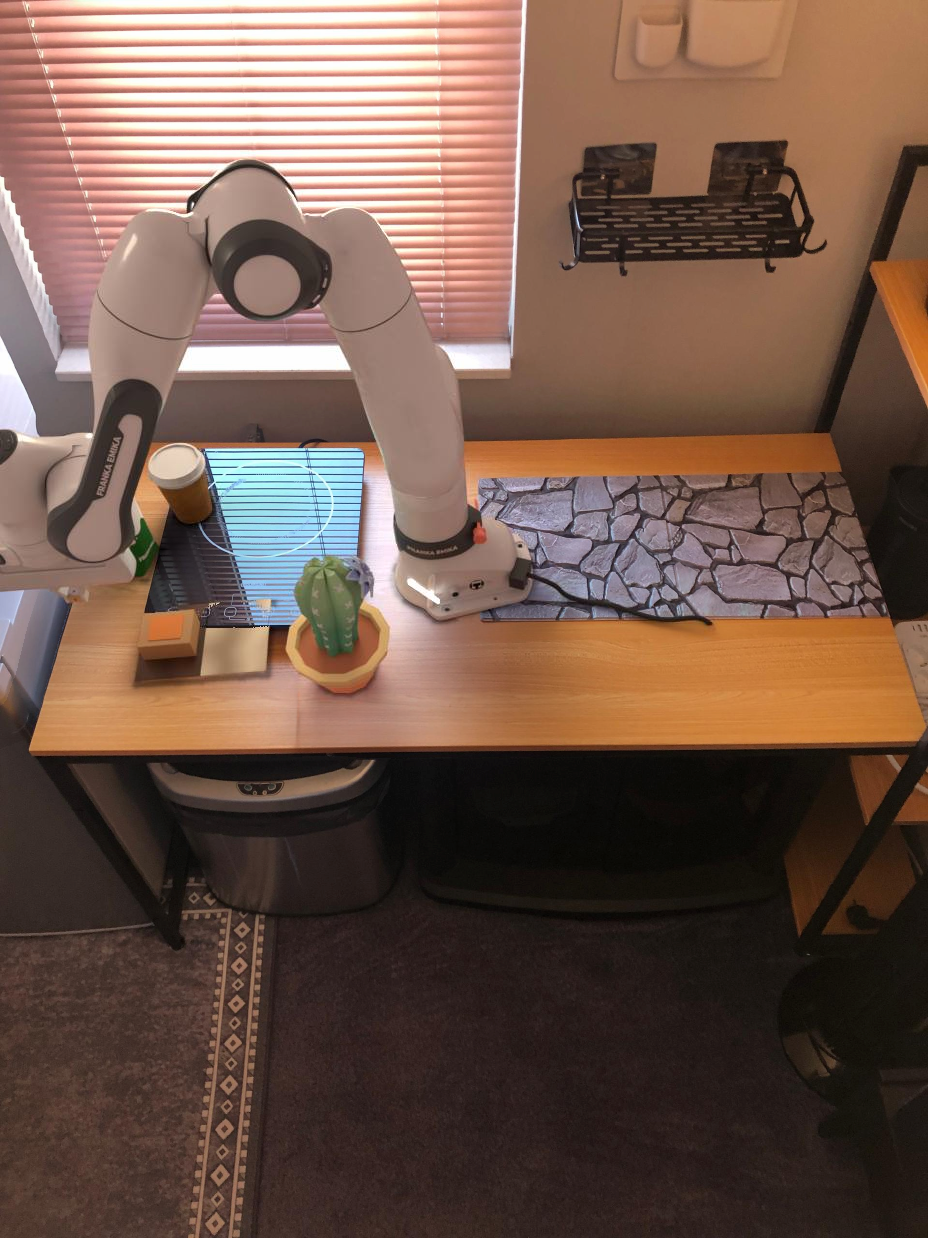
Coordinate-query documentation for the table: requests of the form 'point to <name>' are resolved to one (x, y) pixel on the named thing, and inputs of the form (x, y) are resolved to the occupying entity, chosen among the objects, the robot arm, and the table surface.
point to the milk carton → (142, 542)
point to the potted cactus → (337, 625)
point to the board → (214, 651)
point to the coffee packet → (169, 634)
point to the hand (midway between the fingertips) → (78, 598)
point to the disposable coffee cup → (182, 481)
